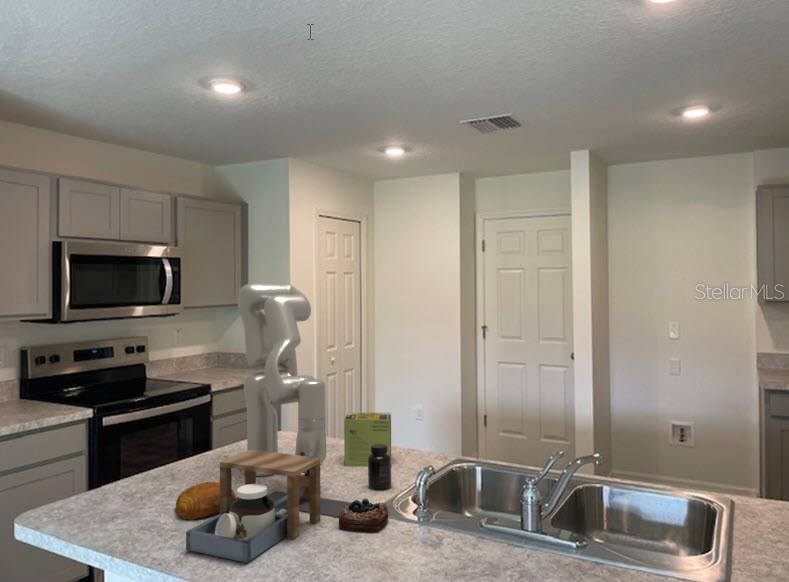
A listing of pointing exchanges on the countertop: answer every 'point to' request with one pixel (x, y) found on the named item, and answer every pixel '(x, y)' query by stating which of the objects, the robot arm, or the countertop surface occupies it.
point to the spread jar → (247, 513)
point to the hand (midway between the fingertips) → (312, 489)
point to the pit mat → (326, 505)
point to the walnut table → (279, 466)
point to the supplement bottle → (379, 468)
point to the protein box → (365, 436)
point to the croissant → (200, 500)
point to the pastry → (363, 516)
